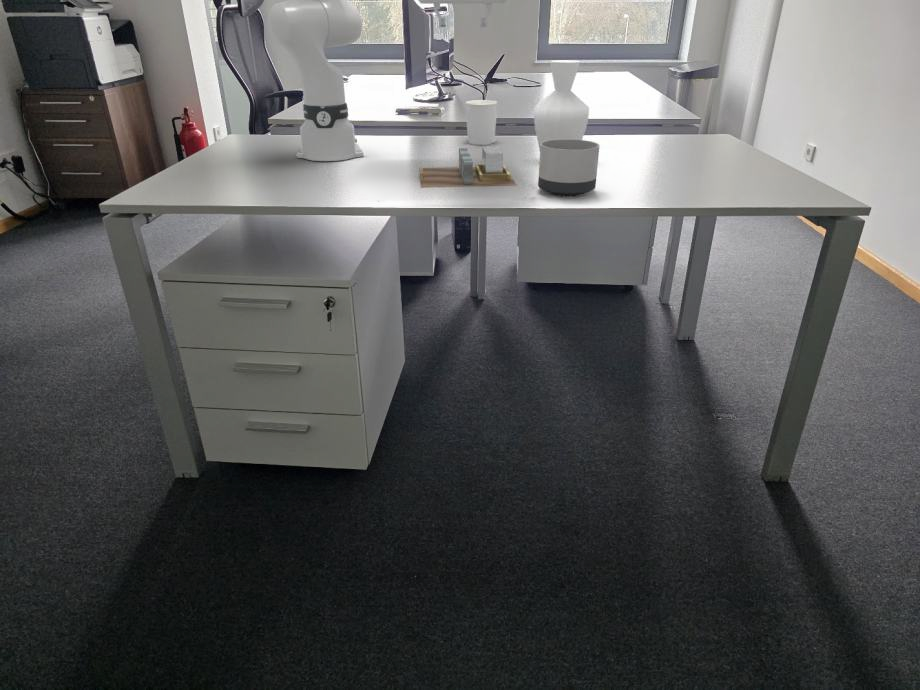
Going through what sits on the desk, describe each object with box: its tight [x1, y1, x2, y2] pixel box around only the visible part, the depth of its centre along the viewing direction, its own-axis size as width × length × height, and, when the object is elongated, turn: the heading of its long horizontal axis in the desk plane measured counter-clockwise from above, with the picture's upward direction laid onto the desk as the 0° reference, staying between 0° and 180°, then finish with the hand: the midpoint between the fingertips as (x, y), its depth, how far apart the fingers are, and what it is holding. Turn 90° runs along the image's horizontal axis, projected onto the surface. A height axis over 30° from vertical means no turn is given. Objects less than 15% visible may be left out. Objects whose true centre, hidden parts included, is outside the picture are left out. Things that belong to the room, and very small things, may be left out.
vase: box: [533, 59, 590, 151], centre depth 162 cm, size 14×14×25 cm
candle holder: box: [465, 99, 499, 146], centre depth 190 cm, size 10×10×12 cm
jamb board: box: [419, 147, 518, 188], centre depth 147 cm, size 20×22×6 cm
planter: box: [537, 139, 601, 198], centre depth 137 cm, size 13×13×10 cm
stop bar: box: [481, 146, 504, 174], centre depth 147 cm, size 4×8×6 cm, turn 4°
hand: (462, 26), depth 140 cm, fingers open, 8 cm apart
